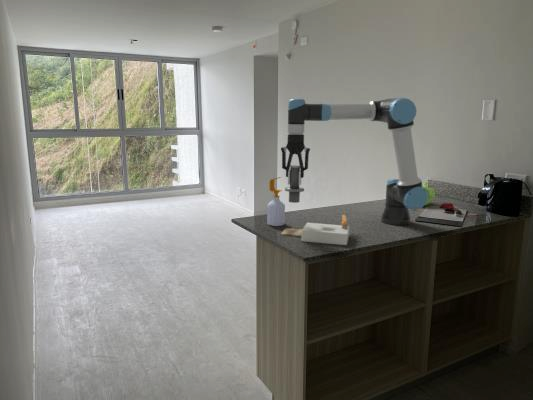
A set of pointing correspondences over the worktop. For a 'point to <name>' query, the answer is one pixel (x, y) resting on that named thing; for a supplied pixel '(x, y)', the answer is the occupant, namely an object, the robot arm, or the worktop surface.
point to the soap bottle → (275, 208)
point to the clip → (344, 220)
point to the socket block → (325, 233)
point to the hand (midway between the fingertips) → (294, 184)
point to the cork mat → (292, 232)
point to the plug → (294, 184)
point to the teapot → (429, 193)
